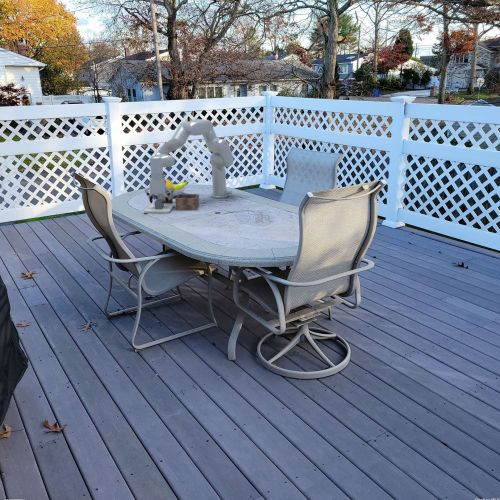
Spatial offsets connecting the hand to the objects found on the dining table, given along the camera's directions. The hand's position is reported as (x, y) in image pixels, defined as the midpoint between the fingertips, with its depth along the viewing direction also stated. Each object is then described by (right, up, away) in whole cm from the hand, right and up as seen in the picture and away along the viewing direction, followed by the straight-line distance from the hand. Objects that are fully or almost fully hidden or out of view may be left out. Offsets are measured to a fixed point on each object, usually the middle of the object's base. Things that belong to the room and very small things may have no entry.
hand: (159, 202), depth 307 cm
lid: (0, -4, +2) cm, 5 cm away
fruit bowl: (-1, +9, +43) cm, 43 cm away
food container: (+1, +2, +22) cm, 22 cm away
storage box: (+17, -3, +8) cm, 19 cm away
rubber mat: (0, -5, +2) cm, 5 cm away
